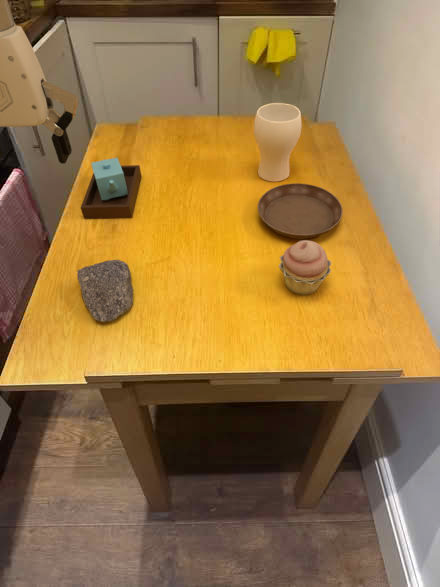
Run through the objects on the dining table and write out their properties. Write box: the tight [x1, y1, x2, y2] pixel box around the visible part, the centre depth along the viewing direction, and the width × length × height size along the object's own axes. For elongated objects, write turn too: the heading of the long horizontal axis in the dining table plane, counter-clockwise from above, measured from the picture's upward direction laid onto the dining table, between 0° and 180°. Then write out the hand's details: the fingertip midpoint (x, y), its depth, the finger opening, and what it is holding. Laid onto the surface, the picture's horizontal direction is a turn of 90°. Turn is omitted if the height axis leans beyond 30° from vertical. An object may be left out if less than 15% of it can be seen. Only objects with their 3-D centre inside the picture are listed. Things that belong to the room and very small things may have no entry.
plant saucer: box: [257, 182, 344, 240], centre depth 87 cm, size 18×18×3 cm
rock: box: [76, 259, 134, 323], centre depth 73 cm, size 12×5×10 cm
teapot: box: [90, 157, 128, 200], centre depth 92 cm, size 12×6×8 cm, turn 20°
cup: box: [253, 102, 303, 182], centre depth 95 cm, size 11×11×15 cm
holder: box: [80, 164, 142, 220], centre depth 94 cm, size 17×11×3 cm, turn 0°
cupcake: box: [278, 239, 332, 296], centre depth 72 cm, size 9×9×10 cm
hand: (31, 159), depth 57 cm, fingers open, 9 cm apart
